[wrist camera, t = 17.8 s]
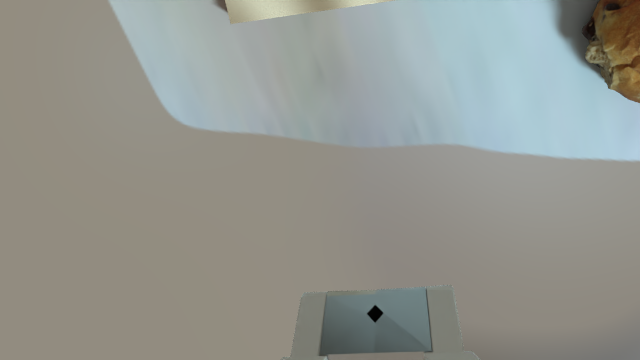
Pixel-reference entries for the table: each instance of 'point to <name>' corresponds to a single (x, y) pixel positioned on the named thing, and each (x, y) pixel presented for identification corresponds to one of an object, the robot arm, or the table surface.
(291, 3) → the board
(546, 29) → the table surface
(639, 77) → the bread roll
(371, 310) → the robot arm
